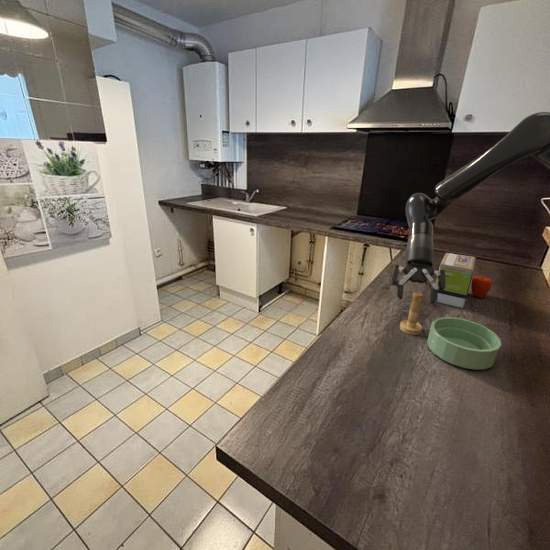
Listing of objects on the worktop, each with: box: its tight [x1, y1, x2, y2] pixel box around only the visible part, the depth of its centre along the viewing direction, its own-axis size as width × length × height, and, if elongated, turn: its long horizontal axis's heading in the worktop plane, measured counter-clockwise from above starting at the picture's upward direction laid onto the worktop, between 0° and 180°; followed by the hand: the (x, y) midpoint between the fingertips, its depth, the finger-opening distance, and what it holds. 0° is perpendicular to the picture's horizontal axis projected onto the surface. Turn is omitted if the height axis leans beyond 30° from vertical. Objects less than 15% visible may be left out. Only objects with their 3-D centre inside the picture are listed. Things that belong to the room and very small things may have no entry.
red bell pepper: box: [470, 275, 493, 298], centre depth 107 cm, size 6×6×8 cm
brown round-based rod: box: [399, 291, 424, 336], centre depth 86 cm, size 6×6×12 cm
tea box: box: [435, 252, 477, 309], centre depth 105 cm, size 15×10×15 cm
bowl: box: [426, 316, 502, 370], centre depth 77 cm, size 16×16×6 cm
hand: (416, 300), depth 84 cm, fingers open, 8 cm apart
